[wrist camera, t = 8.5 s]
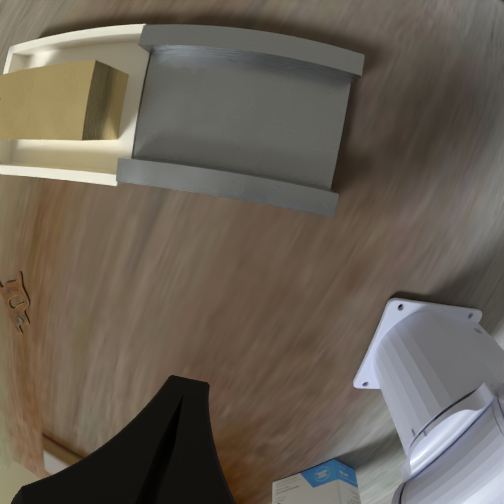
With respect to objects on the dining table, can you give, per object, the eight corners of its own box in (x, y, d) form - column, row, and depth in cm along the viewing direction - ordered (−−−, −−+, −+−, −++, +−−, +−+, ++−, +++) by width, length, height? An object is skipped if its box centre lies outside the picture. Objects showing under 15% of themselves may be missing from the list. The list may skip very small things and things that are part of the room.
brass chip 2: (128, 74, 14) (95, 59, 11) (117, 139, 16) (81, 140, 12) (75, 77, 14) (37, 67, 11) (65, 137, 16) (25, 139, 12)
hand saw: (115, 452, 28) (113, 456, 27) (85, 445, 28) (83, 448, 28) (26, 269, 20) (21, 272, 19) (-4, 271, 20) (-8, 274, 20)
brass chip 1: (75, 76, 14) (37, 67, 11) (65, 136, 16) (25, 139, 12) (33, 81, 14) (-6, 76, 10) (25, 136, 16) (-15, 140, 12)
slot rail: (349, 68, 15) (364, 54, 12) (322, 205, 17) (333, 217, 14) (161, 41, 14) (143, 25, 11) (137, 174, 17) (115, 181, 14)
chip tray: (158, 35, 14) (145, 23, 12) (132, 180, 17) (116, 186, 15) (28, 51, 14) (9, 46, 12) (11, 169, 17) (-9, 173, 15)
